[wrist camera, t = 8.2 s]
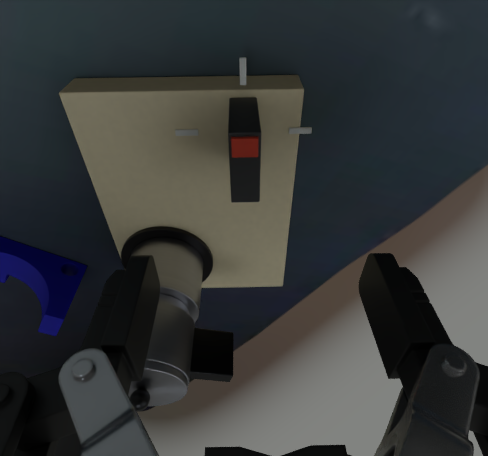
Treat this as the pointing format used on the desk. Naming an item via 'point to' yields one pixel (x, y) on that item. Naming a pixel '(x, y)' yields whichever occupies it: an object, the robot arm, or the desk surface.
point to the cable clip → (42, 279)
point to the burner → (169, 233)
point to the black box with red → (244, 149)
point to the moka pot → (179, 329)
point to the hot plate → (191, 163)
